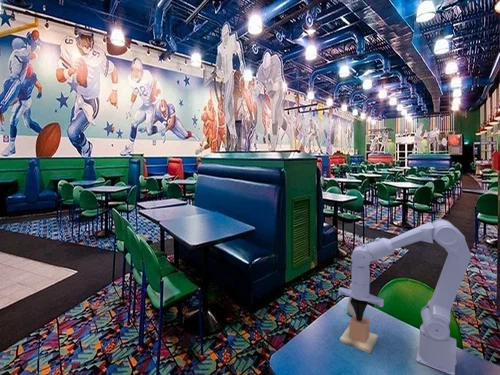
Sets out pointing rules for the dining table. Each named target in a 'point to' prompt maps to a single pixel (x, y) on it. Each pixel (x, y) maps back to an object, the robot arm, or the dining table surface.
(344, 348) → the dining table surface
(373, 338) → the birch board
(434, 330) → the robot arm
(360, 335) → the orange tan block
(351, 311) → the salt shaker
